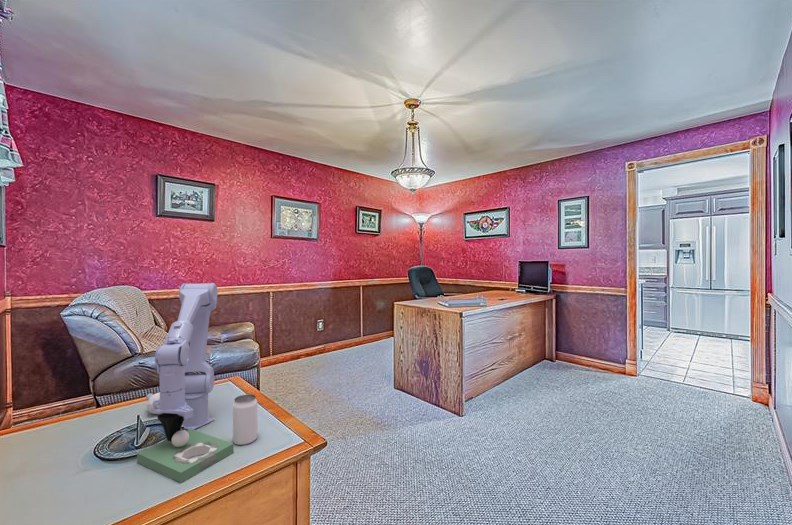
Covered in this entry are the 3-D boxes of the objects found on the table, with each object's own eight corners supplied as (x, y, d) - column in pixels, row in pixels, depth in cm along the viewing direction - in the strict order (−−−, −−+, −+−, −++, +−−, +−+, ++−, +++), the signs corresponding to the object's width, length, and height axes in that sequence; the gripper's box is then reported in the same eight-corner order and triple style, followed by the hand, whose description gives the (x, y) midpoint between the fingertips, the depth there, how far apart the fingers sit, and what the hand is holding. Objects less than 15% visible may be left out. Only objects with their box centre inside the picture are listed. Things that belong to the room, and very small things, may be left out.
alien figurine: (180, 416, 119) (155, 400, 122) (185, 397, 118) (160, 382, 121) (159, 426, 112) (134, 409, 115) (165, 407, 111) (139, 390, 114)
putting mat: (137, 462, 88) (137, 453, 88) (190, 437, 101) (190, 428, 101) (181, 483, 80) (181, 472, 80) (233, 452, 93) (233, 443, 93)
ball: (168, 447, 90) (168, 432, 90) (183, 440, 94) (183, 426, 94) (177, 451, 89) (177, 436, 89) (192, 444, 92) (192, 429, 92)
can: (248, 447, 95) (248, 403, 95) (227, 444, 97) (227, 401, 96) (262, 435, 102) (261, 394, 101) (242, 433, 103) (242, 392, 103)
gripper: (140, 389, 92) (141, 440, 92) (173, 399, 86) (174, 453, 86) (168, 380, 99) (168, 428, 99) (200, 389, 92) (201, 440, 92)
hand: (172, 439), depth 93 cm, fingers closed
